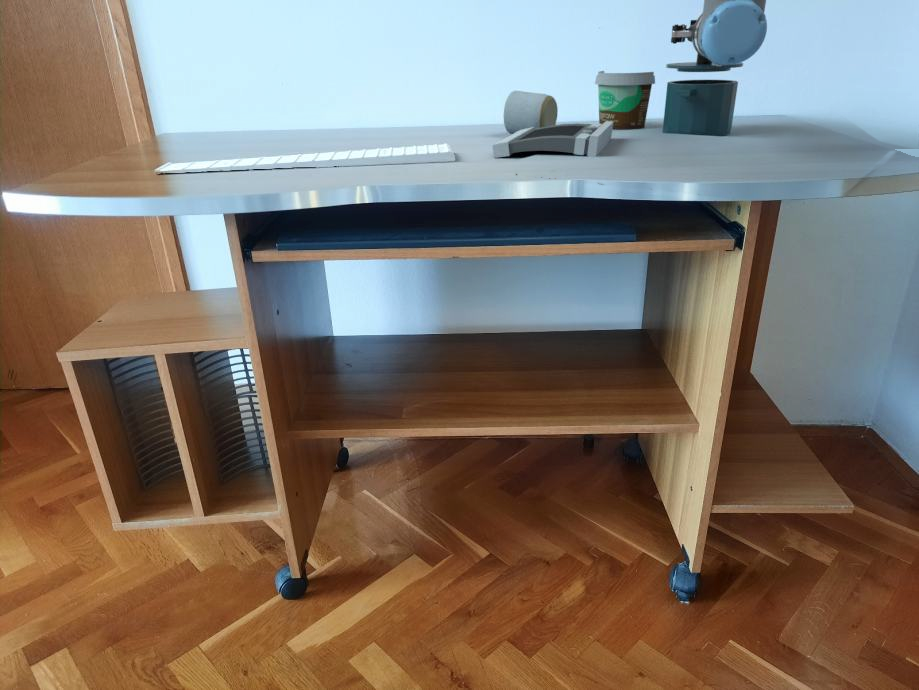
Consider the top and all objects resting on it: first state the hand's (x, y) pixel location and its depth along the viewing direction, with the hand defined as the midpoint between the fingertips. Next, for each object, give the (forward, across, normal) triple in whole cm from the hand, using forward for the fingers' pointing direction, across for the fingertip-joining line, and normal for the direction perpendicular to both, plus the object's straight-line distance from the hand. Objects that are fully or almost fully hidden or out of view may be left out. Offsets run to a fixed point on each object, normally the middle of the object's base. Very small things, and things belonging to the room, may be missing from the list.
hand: (704, 32), depth 114 cm
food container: (+1, -14, -17) cm, 22 cm away
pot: (-5, 0, -16) cm, 17 cm away
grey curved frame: (-25, -24, -17) cm, 38 cm away
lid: (-5, 0, -5) cm, 8 cm away
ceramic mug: (-7, -29, -17) cm, 35 cm away
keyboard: (-39, -60, -17) cm, 74 cm away
